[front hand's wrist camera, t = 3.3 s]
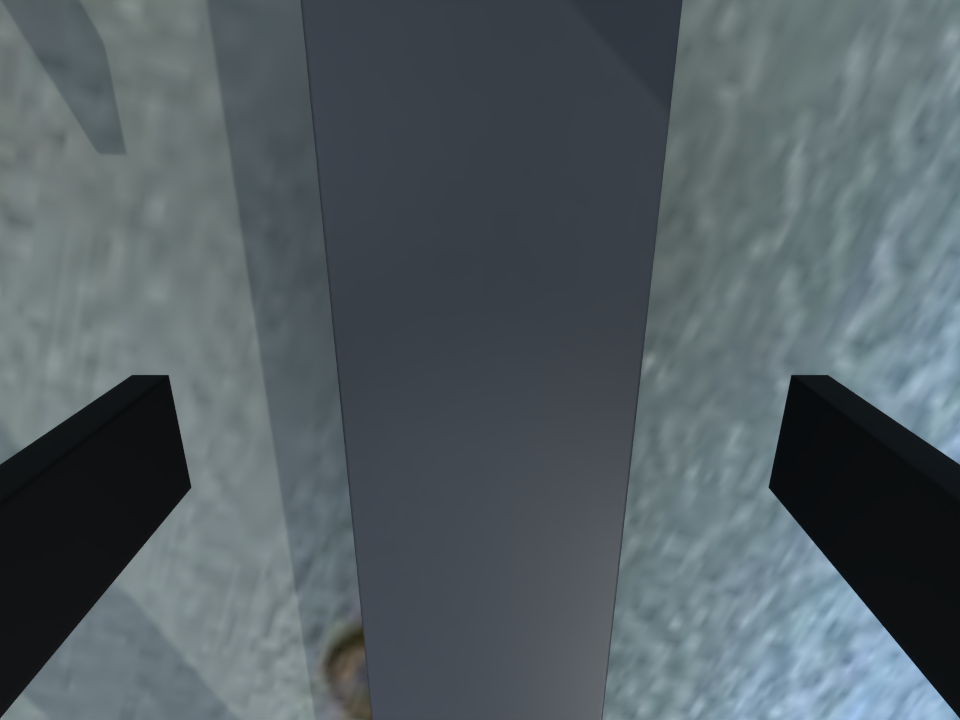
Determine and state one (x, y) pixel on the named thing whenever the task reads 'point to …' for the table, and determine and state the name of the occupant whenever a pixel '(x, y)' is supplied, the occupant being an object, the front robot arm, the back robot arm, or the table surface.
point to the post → (489, 330)
